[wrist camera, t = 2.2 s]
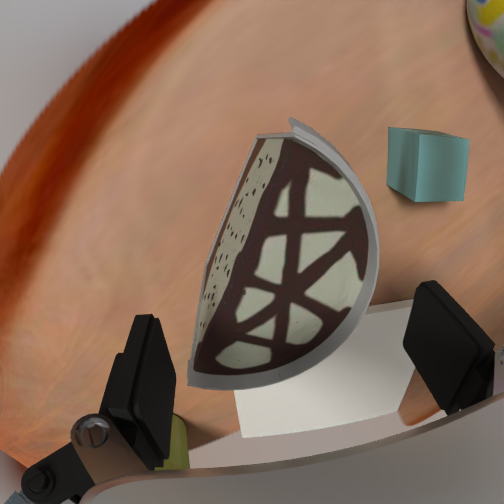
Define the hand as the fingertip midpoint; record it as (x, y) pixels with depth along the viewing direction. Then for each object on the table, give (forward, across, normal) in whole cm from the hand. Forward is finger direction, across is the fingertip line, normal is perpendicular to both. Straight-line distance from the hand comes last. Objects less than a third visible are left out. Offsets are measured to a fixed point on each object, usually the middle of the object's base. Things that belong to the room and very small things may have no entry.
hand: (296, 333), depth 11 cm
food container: (+11, -1, 0) cm, 11 cm away
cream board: (+11, -6, +16) cm, 20 cm away
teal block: (+11, -11, -4) cm, 16 cm away
